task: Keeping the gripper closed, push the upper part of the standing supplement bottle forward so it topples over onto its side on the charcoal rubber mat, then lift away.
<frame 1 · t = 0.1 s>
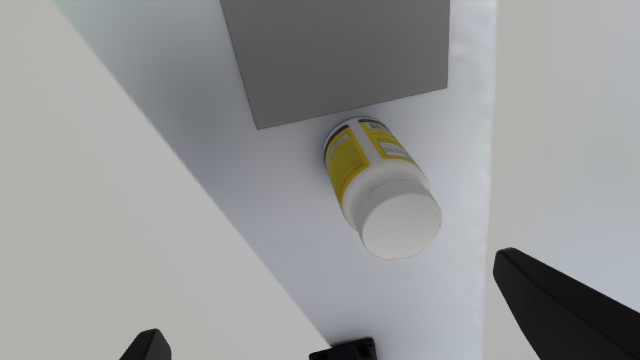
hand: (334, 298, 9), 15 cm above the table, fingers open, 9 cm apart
supplement bottle: (356, 147, 24), on the table
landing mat: (339, 1, 19), on the table
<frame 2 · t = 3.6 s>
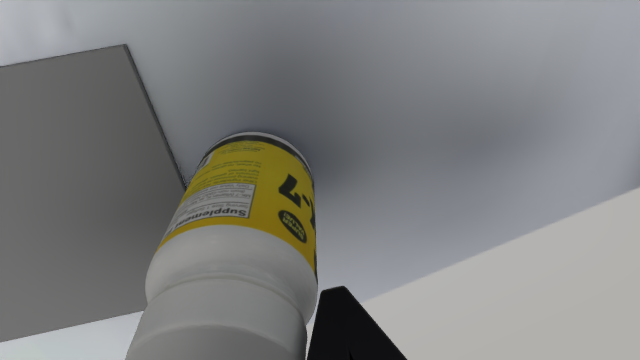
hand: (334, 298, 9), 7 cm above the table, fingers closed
supplement bottle: (258, 177, 15), on the table, touching gripper
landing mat: (41, 221, 15), on the table
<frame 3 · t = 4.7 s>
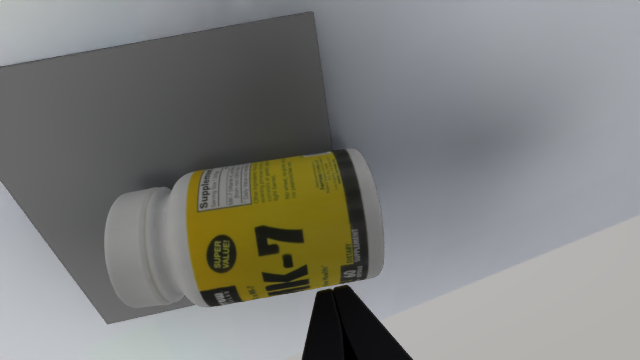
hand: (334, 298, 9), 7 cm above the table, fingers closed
supplement bottle: (373, 209, 13), point 3 cm above the table, touching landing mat
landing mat: (190, 195, 15), on the table
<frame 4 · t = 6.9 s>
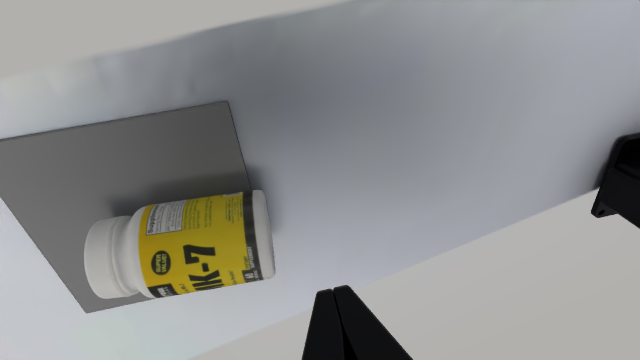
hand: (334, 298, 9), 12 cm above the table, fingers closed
supplement bottle: (273, 231, 19), point 3 cm above the table, touching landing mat
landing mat: (148, 219, 21), on the table
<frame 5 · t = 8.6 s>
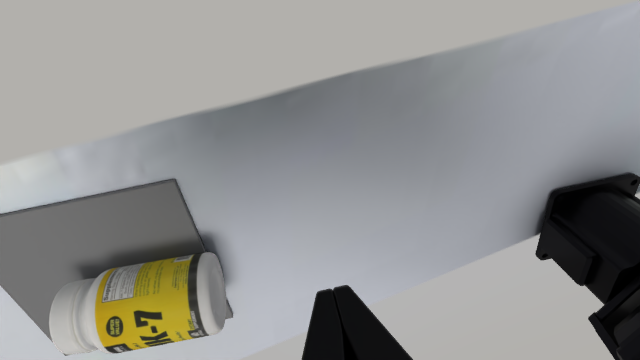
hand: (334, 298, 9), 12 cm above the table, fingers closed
supplement bottle: (221, 290, 22), point 3 cm above the table, touching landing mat
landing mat: (114, 276, 23), on the table
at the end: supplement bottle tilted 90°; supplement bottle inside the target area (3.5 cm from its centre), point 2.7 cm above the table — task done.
